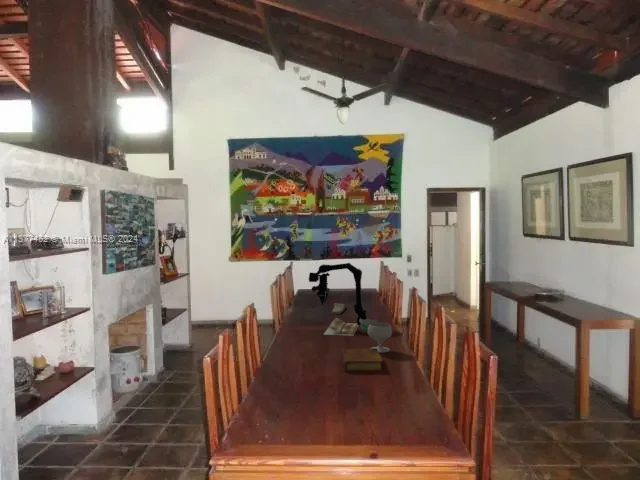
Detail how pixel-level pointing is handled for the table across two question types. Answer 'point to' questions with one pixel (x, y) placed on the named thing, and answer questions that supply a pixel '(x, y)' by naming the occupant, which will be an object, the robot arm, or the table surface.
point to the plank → (337, 325)
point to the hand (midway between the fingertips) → (323, 303)
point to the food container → (366, 325)
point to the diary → (361, 360)
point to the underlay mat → (332, 332)
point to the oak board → (349, 328)
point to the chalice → (380, 334)
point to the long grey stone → (338, 308)
